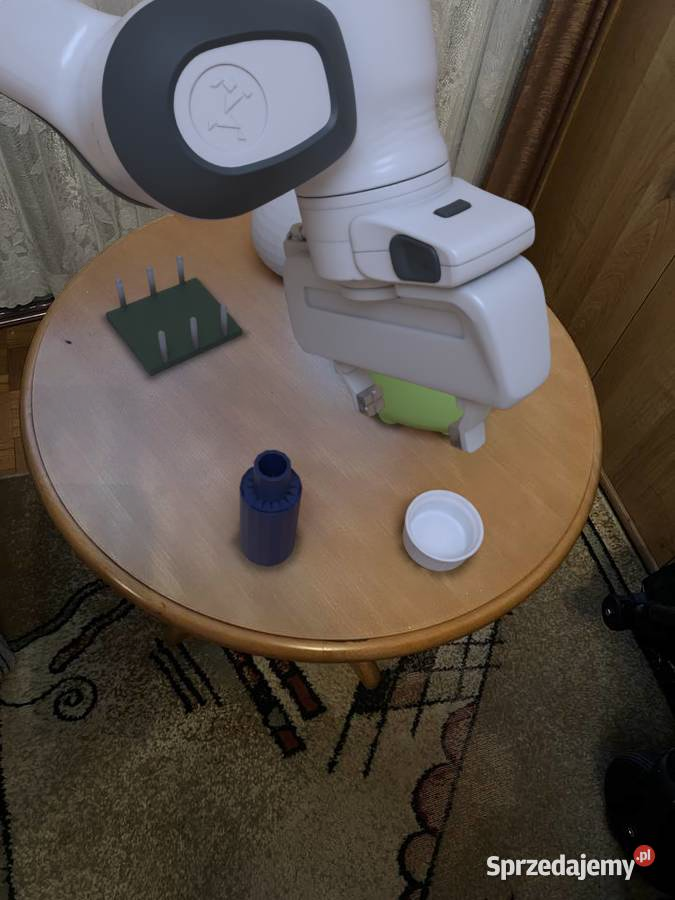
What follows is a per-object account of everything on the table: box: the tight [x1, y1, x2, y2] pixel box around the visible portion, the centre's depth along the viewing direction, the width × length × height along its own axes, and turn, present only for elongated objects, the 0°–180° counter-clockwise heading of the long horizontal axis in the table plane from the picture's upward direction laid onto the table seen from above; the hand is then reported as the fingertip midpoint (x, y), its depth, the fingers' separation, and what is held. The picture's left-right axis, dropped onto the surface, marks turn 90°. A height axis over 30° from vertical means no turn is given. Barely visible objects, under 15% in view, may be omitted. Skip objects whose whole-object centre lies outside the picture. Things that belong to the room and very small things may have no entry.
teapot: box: [368, 371, 493, 436], centre depth 83 cm, size 25×22×16 cm
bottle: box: [239, 449, 303, 567], centre depth 67 cm, size 6×6×16 cm
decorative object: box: [250, 189, 302, 278], centre depth 93 cm, size 15×15×15 cm
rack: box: [105, 254, 243, 377], centre depth 87 cm, size 14×12×6 cm
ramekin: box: [402, 489, 485, 572], centre depth 74 cm, size 9×9×4 cm
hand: (416, 427), depth 45 cm, fingers open, 8 cm apart
